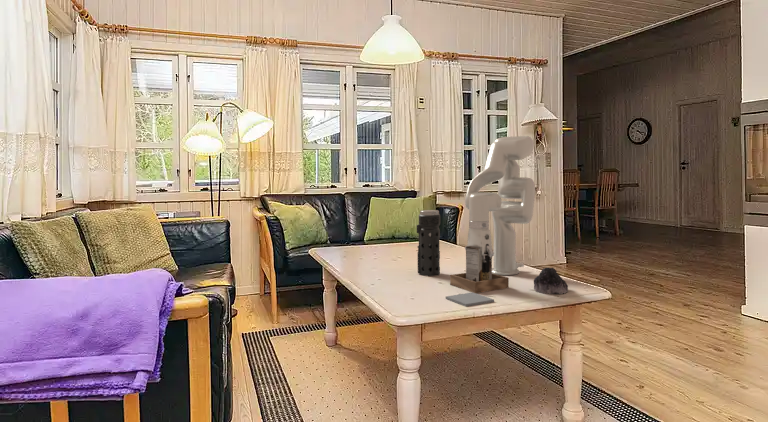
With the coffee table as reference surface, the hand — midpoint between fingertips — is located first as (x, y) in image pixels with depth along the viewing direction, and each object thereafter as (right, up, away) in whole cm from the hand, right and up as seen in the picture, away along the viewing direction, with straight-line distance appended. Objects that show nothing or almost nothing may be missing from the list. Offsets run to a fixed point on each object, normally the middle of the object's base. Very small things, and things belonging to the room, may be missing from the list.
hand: (478, 270), depth 198 cm
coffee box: (0, -7, +1) cm, 7 cm away
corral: (0, -6, +1) cm, 6 cm away
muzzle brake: (-17, -5, +25) cm, 31 cm away
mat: (-7, -8, -20) cm, 23 cm away
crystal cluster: (+25, -7, -8) cm, 27 cm away
